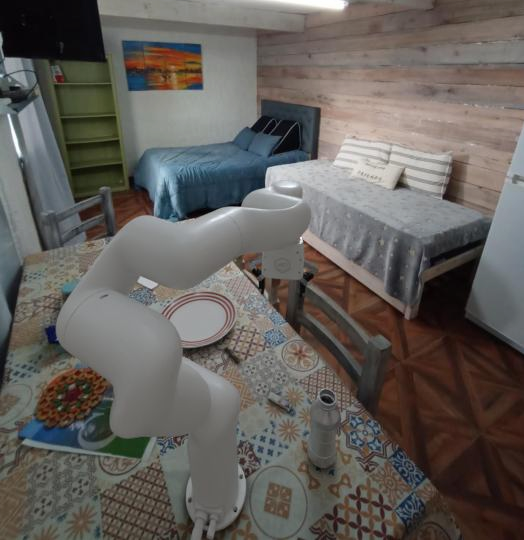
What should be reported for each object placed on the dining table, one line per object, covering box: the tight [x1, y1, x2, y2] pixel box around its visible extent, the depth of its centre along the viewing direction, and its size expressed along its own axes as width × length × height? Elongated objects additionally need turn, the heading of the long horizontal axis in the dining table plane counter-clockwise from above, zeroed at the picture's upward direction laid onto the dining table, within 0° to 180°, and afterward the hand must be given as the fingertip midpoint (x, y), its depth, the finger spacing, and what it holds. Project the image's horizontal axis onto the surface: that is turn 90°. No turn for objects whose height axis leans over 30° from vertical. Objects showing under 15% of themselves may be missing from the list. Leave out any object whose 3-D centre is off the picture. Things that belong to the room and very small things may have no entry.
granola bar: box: [267, 390, 293, 412], centre depth 84 cm, size 7×2×1 cm, turn 58°
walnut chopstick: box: [224, 347, 241, 364], centre depth 98 cm, size 7×1×1 cm, turn 44°
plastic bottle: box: [306, 388, 342, 469], centre depth 69 cm, size 6×7×20 cm
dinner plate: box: [159, 289, 238, 349], centre depth 110 cm, size 27×27×3 cm
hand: (281, 292), depth 80 cm, fingers open, 9 cm apart
